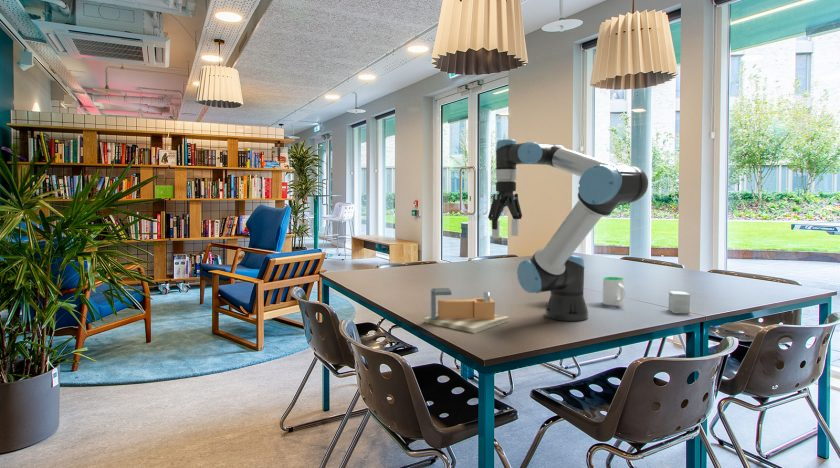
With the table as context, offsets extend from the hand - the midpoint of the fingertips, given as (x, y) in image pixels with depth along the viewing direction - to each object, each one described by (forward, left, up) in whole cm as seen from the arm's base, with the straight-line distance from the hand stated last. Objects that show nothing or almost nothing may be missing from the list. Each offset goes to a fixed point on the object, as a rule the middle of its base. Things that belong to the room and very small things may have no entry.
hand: (505, 237), depth 197 cm
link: (+2, +23, -27) cm, 35 cm away
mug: (-28, -39, -29) cm, 56 cm away
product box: (-51, -42, -29) cm, 72 cm away
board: (+2, +23, -29) cm, 37 cm away
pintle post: (-4, +19, -27) cm, 33 cm away
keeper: (+8, +30, -27) cm, 41 cm away
